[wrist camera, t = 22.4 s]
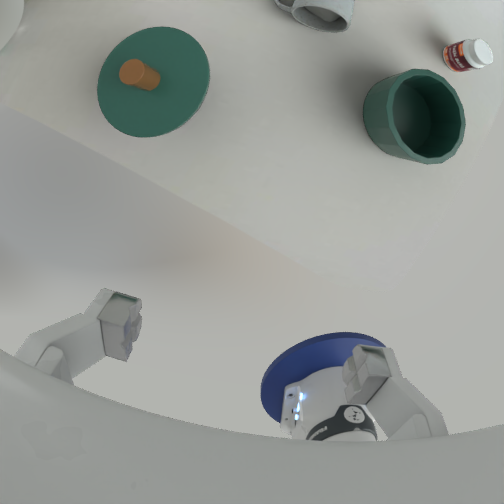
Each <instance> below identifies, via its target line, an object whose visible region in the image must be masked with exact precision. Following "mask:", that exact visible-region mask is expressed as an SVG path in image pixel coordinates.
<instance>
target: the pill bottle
mask: <svg viewBox="0 0 504 504" xmlns="http://www.w3.org/2000/svg"><path fill="white" fill-rule="evenodd" d="M443 58H444V61H445V63H446V65H447V66H448V67H449V68H450V69H451V70H453V71H455V72H463V71H468V70H474V69H480V68H482V67H484V65H489V64H491V63H492V61H493V54H492V51H491V49H490V47H489V45H488V44H487V43H486V42H485V41H484V40H482V39H475V40H471V39H467V40H464V41H461V42H458V43H455V44H452V45H449V46H447V47H445V48H444V50H443Z"/></svg>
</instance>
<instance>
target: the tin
mask: <svg viewBox="0 0 504 504" xmlns="http://www.w3.org/2000/svg"><path fill="white" fill-rule="evenodd" d="M363 117H364V123H365V127H366V129H367V132H368V134H369V136H370V137H371V139H372V140H373V142H374V143H375V144H376V145H377V146H378V147H379V148H380V149H381V150H383V151H384V152H386V153H387V154H390V155H392V156H395V157H398V158H402V159H406V160H411V161H415V162H419V163H423V164H438V163H443V162H444V161H446V160H447V159H449V158H450V157H452V156H453V155H455V153H456V151H457V150H458V148H459V147H460V145H461V143H462V141H463V137H464V131H465V125H466V124H465V116H464V109H463V106H462V104H461V101H460V99H459V97H458V95H457V93H456V91H455V90H454V88H453V87H452V86H451V85H450V84H449V83H448V82H447V81H446V80H445V79H444V78H443V77H441V76H440V75H438V74H436V73H434V72H432V71H430V70H424V69H411V70H408V71H405V72H403V73H400V74H397V75H394V76H392V77H389V78H387V79H385V80H383V81H380V82H379V83H377V84H375V85H374V86H373V87H372V88H371V90H370V91H369V93H368V94H367V96H366V99H365V102H364V107H363Z"/></svg>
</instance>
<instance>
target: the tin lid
mask: <svg viewBox="0 0 504 504" xmlns="http://www.w3.org/2000/svg"><path fill="white" fill-rule="evenodd" d="M209 81H210V67H209V62H208V59H207V56H206V54H205V52H204V50H203V48H202V47H201V45H200V44H199V43H198V42H197V41H196V40H195V39H194V38H193V37H192V36H190V35H189V34H187V33H185V32H184V31H181V30H179V29H175V28H171V27H153V28H147V29H144V30H141V31H138V32H136V33H134V34H132V35H130V36H129V37H127V38H126V39H124V40H123V41H122V42H120V43H119V44H118V45H117V46H116V47H115V48H114V49H113V51H112V52H111V53H110V54H109V56H108V57H107V59H106V61H105V62H104V64H103V66H102V69H101V72H100V75H99V79H98V85H97V95H98V101H99V105H100V108H101V111H102V113H103V114H104V116H105V118H106V119H107V120H108V122H109V123H110V124H111V125H112V126H113V127H114V128H116V129H117V130H119V131H121V132H123V133H125V134H127V135H130V136H135V137H156V136H160V135H164V134H167V133H169V132H171V131H173V130H175V129H177V128H179V127H180V126H182V125H183V124H185V123H186V122H187V121H188V120H189V119H190V118H191V117H192V116H193V115H194V114H195V113H196V111H197V110H198V109H199V107H200V106H201V104H202V102H203V101H204V98H205V96H206V94H207V90H208V87H209Z"/></svg>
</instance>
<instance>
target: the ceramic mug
mask: <svg viewBox="0 0 504 504" xmlns="http://www.w3.org/2000/svg"><path fill="white" fill-rule="evenodd" d="M274 1H275V3H276V4H277V5H278V7H279V8H281V9H282V10H284V11H287V12H290V13H291V14H292V16H293V17H294V18H295V19H296V20H297V21H299V22H300V23H302V24H304V25H306V26H308V27H311V28H313V29H316V30H320V31H325V32H343V31H345V30H347V29H348V28H349V26H350V23H351V17H352V12H353V7H354V1H355V0H295V1H294V4H293V6H292V7H289V6H286V5H283V4H281V3H280V2H279V0H274Z"/></svg>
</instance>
